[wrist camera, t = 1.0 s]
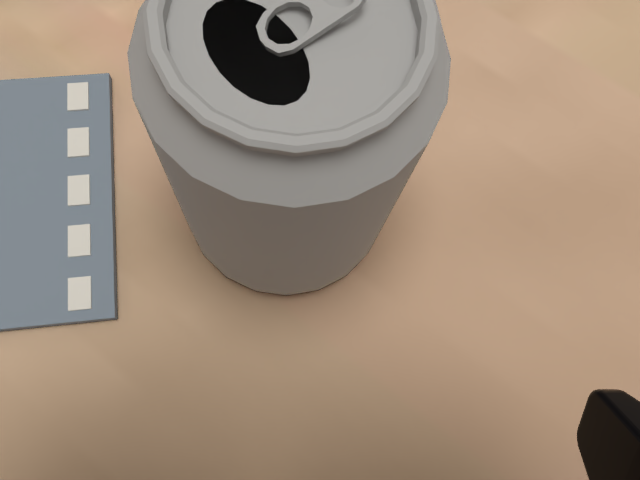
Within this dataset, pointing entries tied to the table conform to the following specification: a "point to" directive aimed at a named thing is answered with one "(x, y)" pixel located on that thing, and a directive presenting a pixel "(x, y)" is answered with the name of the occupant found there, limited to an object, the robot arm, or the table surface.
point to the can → (288, 124)
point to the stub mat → (57, 202)
